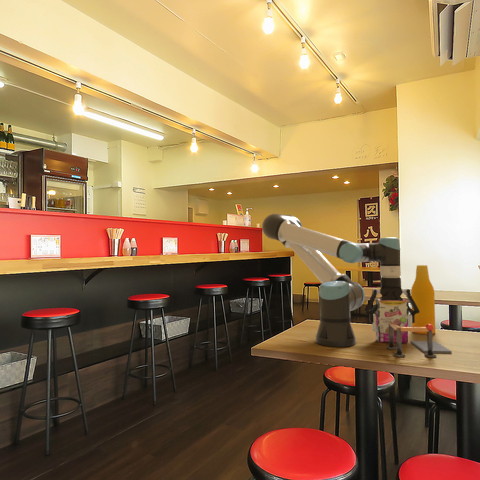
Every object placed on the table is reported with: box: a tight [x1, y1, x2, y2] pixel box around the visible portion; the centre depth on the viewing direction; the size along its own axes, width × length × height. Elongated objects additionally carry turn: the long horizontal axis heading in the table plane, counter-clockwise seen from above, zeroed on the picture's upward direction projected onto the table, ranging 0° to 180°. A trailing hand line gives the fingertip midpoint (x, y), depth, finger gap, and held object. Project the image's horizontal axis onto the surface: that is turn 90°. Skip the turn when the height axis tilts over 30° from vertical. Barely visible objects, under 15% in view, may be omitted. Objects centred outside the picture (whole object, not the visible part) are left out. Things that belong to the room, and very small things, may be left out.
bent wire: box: [385, 322, 437, 359], centre depth 137 cm, size 14×14×11 cm
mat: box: [410, 340, 453, 354], centre depth 142 cm, size 9×15×1 cm, turn 173°
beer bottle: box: [410, 264, 437, 335], centre depth 170 cm, size 9×9×29 cm
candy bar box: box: [375, 298, 409, 344], centre depth 153 cm, size 11×5×16 cm, turn 84°
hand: (392, 331), depth 153 cm, fingers open, 13 cm apart
